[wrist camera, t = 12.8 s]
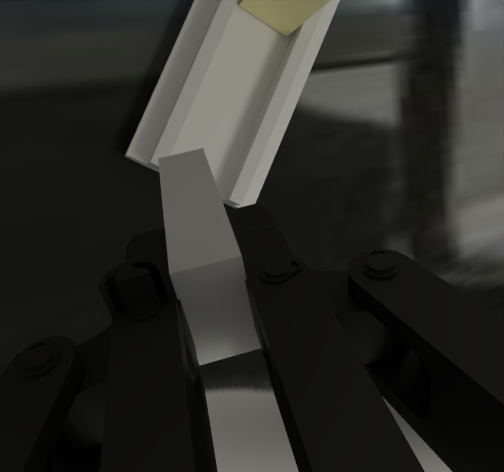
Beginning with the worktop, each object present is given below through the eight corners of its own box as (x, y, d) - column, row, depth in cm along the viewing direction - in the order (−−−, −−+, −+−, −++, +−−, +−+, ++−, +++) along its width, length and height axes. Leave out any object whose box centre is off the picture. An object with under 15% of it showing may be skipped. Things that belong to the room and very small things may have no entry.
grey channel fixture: (124, 156, 37) (139, 140, 27) (250, -129, 39) (306, -238, 30) (245, 212, 42) (295, 216, 32) (353, -47, 44) (431, -118, 34)
